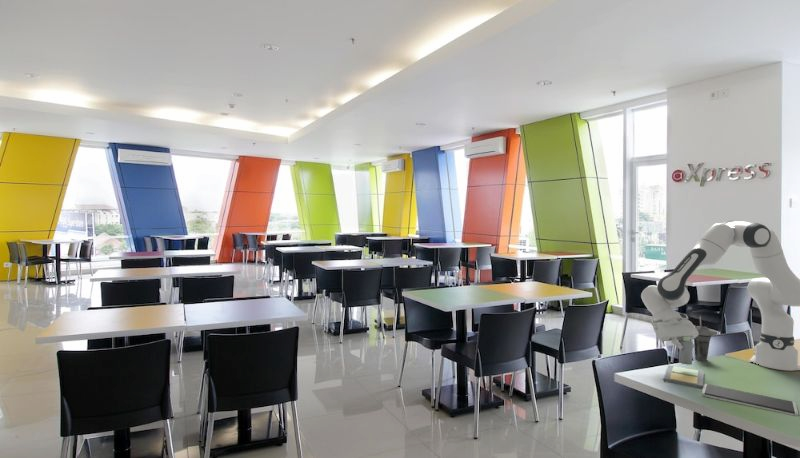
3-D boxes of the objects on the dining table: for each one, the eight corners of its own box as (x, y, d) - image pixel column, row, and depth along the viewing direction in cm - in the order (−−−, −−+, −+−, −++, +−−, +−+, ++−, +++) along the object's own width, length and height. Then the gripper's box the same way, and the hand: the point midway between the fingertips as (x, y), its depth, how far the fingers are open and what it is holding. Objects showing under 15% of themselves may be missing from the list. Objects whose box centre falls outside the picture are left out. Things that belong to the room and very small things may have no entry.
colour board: (668, 367, 203) (668, 364, 203) (703, 373, 196) (704, 370, 196) (663, 381, 185) (663, 377, 185) (702, 388, 178) (703, 385, 178)
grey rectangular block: (679, 360, 198) (680, 335, 198) (692, 362, 196) (693, 337, 196) (678, 363, 194) (679, 337, 194) (691, 365, 192) (692, 339, 192)
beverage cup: (713, 362, 213) (715, 318, 213) (695, 360, 215) (697, 317, 215) (706, 357, 221) (708, 315, 220) (689, 356, 222) (690, 314, 222)
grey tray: (798, 418, 154) (798, 413, 154) (701, 397, 170) (701, 392, 170) (795, 406, 164) (795, 401, 164) (704, 387, 181) (704, 382, 181)
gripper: (654, 316, 198) (674, 345, 189) (689, 314, 205) (710, 342, 196) (645, 324, 202) (664, 353, 193) (679, 322, 209) (699, 350, 200)
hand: (687, 348), depth 194 cm, fingers closed on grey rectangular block, 5 cm apart
